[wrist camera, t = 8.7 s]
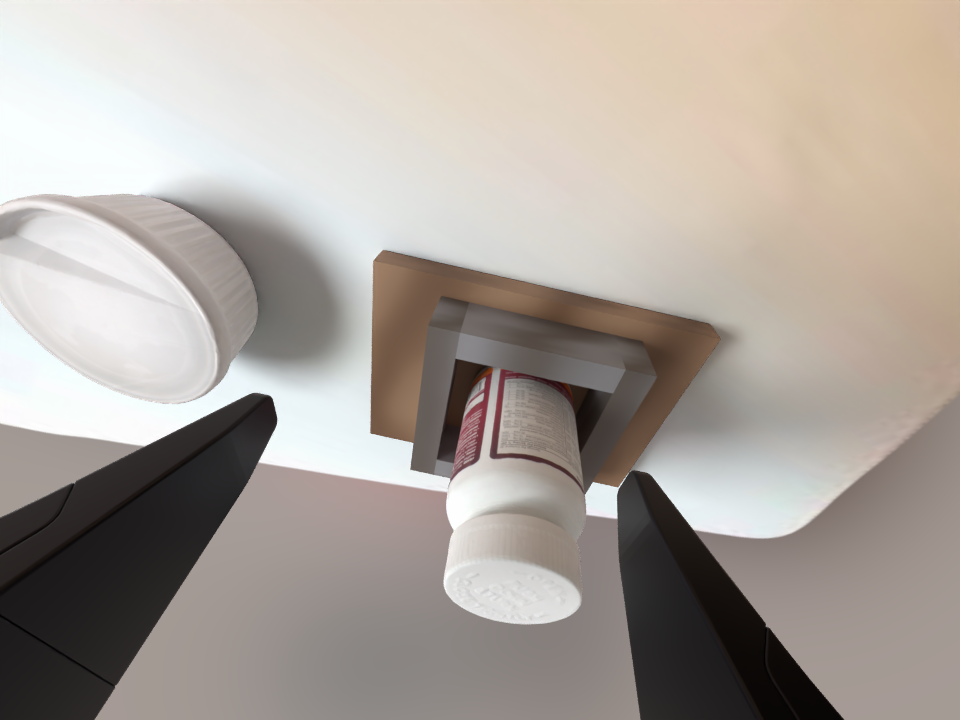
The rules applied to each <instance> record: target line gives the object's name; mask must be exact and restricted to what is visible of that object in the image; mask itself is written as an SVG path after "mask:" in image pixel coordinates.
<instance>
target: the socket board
mask: <svg viewBox="0 0 960 720" xmlns="http://www.w3.org/2000/svg"><path fill="white" fill-rule="evenodd" d="M719 341H720V337H719V336H718V335H717V333H716V332H715V331H714V329H713V328H712V326H711V325H710V324H707V323H703V322H698V321H694V320H690V319H685V318H681V317H676V316H672V315H667V314H663V313H659V312H654V311H650V310H645V309H641V308H637V307H632V306H628V305H623V304H619V303H614V302H610V301H606V300H601V299H597V298H592V297H588V296H584V295H579V294H575V293H570V292H566V291H561V290H557V289H553V288H548V287H544V286H539V285H535V284H531V283H526V282H522V281H517V280H513V279H508V278H504V277H500V276H495V275H491V274H486V273H482V272H478V271H473V270H469V269H464V268H460V267H455V266H451V265H447V264H442V263H438V262H433V261H429V260H425V259H420V258H416V257H411V256H407V255H402V254H398V253H394V252H389V251H385V250H383V251H382V252H381V253H380V254H379V255H378V256H377V257H376V258H375V260H374V261H373V315H372V374H371V434H376V435H380V436H385V437H389V438H394V439H398V440H403V441H408V442H412V443H414V444H413V452H412V461H411V469H410V470H415V471H419V472H424V473H429V474H433V475H438V476H442V477H447V478H451V474H452V470H453V464H454V460H455V455H456V450H457V445H458V441H459V436H460V431H461V426H462V422H463V417H464V413H465V408H466V403H467V398H468V394H469V391H470V387H471V384H472V382H473V380H474V379H475V377H476V376H477V374H478V373H479V372H480V371H481V370H482V369H483V368H485V367H486V366H491V367H496V368H500V369H505V370H509V371H514V372H518V373H523V374H527V375H532V376H536V377H541V378H545V379H550V380H554V381H559V382H563V383H568V384H569V386H570V389H571V392H572V397H573V403H574V411H575V419H576V428H577V437H578V445H579V453H580V461H581V468H582V476H583V486H584V494H586V492H587V490H588V489H589V487H590V486H591V484H592V482H596V483H600V484H605V485H610V486H614V487H619V485H620V484H621V482H622V481H623V479H624V478H625V477H626V475H627V474H628V472H629V471H630V469H631V468H632V466H633V465H634V464H635V462H636V461H637V459H638V458H639V456H640V455H641V453H642V452H643V451H644V449H645V448H646V446H647V445H648V443H649V442H650V440H651V439H652V438H653V436H654V435H655V433H656V432H657V430H658V429H659V428H660V426H661V425H662V423H663V422H664V420H665V419H666V417H667V416H668V415H669V413H670V412H671V410H672V409H673V407H674V406H675V404H676V403H677V402H678V400H679V399H680V397H681V396H682V394H683V393H684V391H685V390H686V389H687V387H688V386H689V384H690V383H691V381H692V380H693V378H694V377H695V376H696V374H697V373H698V371H699V370H700V368H701V367H702V365H703V364H704V363H705V361H706V360H707V358H708V357H709V355H710V354H711V352H712V351H713V350H714V348H715V347H716V345H717V344H718V342H719Z"/></svg>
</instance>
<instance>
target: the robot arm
mask: <svg viewBox="0 0 960 720" xmlns="http://www.w3.org/2000/svg"><path fill="white" fill-rule="evenodd" d="M276 425H277V415H276V411H275V407H274V402H273V399H272V397H271V396H269V395H265V394H260V393H252V394H249V395H247V396H245V397H243V398H241V399H239V400H237V401H235V402H233V403H231V404H229V405H227V406H225V407H223V408H221V409H219V410H217V411H215V412H213V413H211V414H209V415H207V416H205V417H203V418H201V419H199V420H197V421H195V422H193V423H191V424H189V425H187V426H185V427H183V428H181V429H179V430H177V431H175V432H173V433H171V434H169V435H167V436H165V437H163V438H161V439H159V440H157V441H155V442H153V443H151V444H149V445H147V446H145V447H143V448H141V449H139V450H137V451H135V452H133V453H131V454H129V455H127V456H125V457H123V458H121V459H119V460H117V461H115V462H113V463H111V464H109V465H107V466H105V467H103V468H101V469H99V470H97V471H95V472H93V473H91V474H89V475H87V476H85V477H83V478H81V479H79V480H77V481H76V482H75V484H74V483H71V484H69V485H66V486H65V487H62V488H60V489H58V490H57V491H55V492H53V493H50V494H49V495H47V496H44V497H42V498H40V499H38V500H36V501H34V502H32V503H30V504H28V505H26V506H24V507H22V508H20V509H17V510H15V511H13V512H11V513H9V514H7V515H5V516H2V517H0V720H94V719H95V718H96V717H97V715H98V713H99V712H100V710H101V709H102V707H103V706H104V704H105V703H106V701H107V700H108V698H109V697H110V695H111V693H112V692H113V690H114V689H115V685H117V684H118V682H119V681H120V679H121V677H122V676H123V674H124V673H125V671H126V670H127V668H128V667H129V665H130V664H131V662H132V661H133V659H134V657H135V656H136V654H137V653H138V651H139V650H140V648H141V647H142V645H143V644H144V642H145V640H146V639H147V637H148V636H149V634H150V633H151V631H152V629H153V628H154V627H155V625H156V623H157V622H158V620H159V619H160V617H161V616H162V614H163V613H164V611H165V610H166V608H167V606H168V605H169V603H170V602H171V600H172V599H173V597H174V596H175V594H176V593H177V591H178V589H179V588H180V586H181V585H182V583H183V582H184V580H185V579H186V577H187V576H188V574H189V572H190V571H191V569H192V568H193V566H194V565H195V563H196V562H197V560H198V559H199V557H200V556H201V554H202V552H203V551H204V549H205V548H206V546H207V545H208V543H209V541H210V540H211V539H212V537H213V535H214V534H215V532H216V531H217V529H218V528H219V526H220V524H221V523H222V521H223V520H224V518H225V517H226V515H227V514H228V512H229V511H230V509H231V508H232V506H233V505H234V503H235V501H236V500H237V498H238V497H239V495H240V494H241V492H242V491H243V489H244V487H245V486H246V484H247V483H248V480H249V479H250V477H251V475H252V473H253V471H254V469H255V467H256V465H257V463H258V461H259V459H260V458H261V456H262V454H263V452H264V450H265V448H266V446H267V444H268V442H269V440H270V438H271V436H272V434H273V432H274V430H275V428H276ZM617 511H618V549H619V563H620V572H621V579H622V586H623V594H624V601H625V608H626V616H627V623H628V631H629V638H630V645H631V653H632V659H633V667H634V675H635V682H636V688H637V697H638V704H639V711H640V719H641V720H844V719H843V718H842V717H841V715H840V714H839V713H838V712H837V711H836V710H835V708H834V707H833V706H832V705H831V704H830V703H829V701H828V700H827V699H826V698H825V697H824V695H823V694H822V693H821V692H820V691H819V689H818V688H817V687H816V686H815V685H814V684H813V682H812V681H811V680H810V679H809V678H808V676H807V675H806V674H805V673H804V671H803V670H802V669H801V668H800V666H799V665H798V664H797V663H796V661H795V660H794V659H793V658H792V656H791V655H790V654H789V653H788V651H787V650H786V649H785V648H784V646H783V645H782V644H781V642H780V641H779V640H778V638H777V637H776V636H775V635H774V633H773V632H772V631H771V629H770V628H769V627H766V624H765V622H764V621H763V619H762V618H761V617H760V615H759V614H758V613H757V612H756V610H755V609H754V608H753V606H752V605H751V604H750V603H749V601H748V600H747V599H746V597H745V596H744V595H743V593H742V592H741V591H740V590H739V588H738V587H737V586H736V585H735V583H734V582H733V581H732V579H731V578H730V577H729V576H728V574H727V573H726V572H725V570H724V569H723V568H722V566H721V565H720V564H719V562H718V561H717V560H716V559H715V557H714V556H713V555H712V553H711V552H710V551H709V550H708V548H707V547H706V546H705V544H704V543H703V542H702V541H701V539H700V538H699V537H698V535H697V534H696V533H695V531H694V530H693V529H692V528H691V526H690V525H689V524H688V522H687V521H686V520H685V519H684V517H683V516H682V515H681V513H680V512H679V511H678V509H677V508H676V507H675V506H674V504H673V503H672V502H671V500H670V499H669V498H668V497H667V495H666V494H665V493H664V491H663V490H662V489H661V488H660V486H659V485H658V484H657V482H656V481H655V480H654V478H653V477H652V476H651V475H650V474H648V473H645V472H640V471H635V470H633V471H631V472H630V473H629V474H628V476H627V477H626V479H625V480H624V482H623V484H622V485H621V487H620V488H619V491H618V494H617Z"/></svg>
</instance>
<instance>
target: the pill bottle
mask: <svg viewBox="0 0 960 720" xmlns="http://www.w3.org/2000/svg"><path fill="white" fill-rule="evenodd" d="M446 509H447V515H448V519H449V522H450V524H451V526H452V528H453V530H454V532H453V534H452V537H451V539H450V545H449V552H448V558H447V564H446V569H445V574H444V588H445V591H446V593H447V594H448V596H449V597H450V598H451V599H452V600H453V601H454V602H455V603H456V604H458V605H459V606H460V607H462V608H464V609H466V610H468V611H470V612H471V613H474V614H476V615H478V616H481V617H485V618H488V619H491V620H496V621H501V622H507V623H515V624H541V623H548V622H554V621H557V620H560V619H563V618H566V617H568V616H570V615H572V614H573V613H574V612H575V611H576V610H577V609H578V608H579V607H580V605H581V602H582V581H581V569H580V562H581V561H580V553H579V548H578V545H577V543H576V541H577V539H578V538H579V536H580V535H581V533H582V531H583V528H584V525H585V520H586V502H585V494H584V486H583V476H582V468H581V461H580V453H579V445H578V437H577V428H576V419H575V411H574V403H573V397H572V392H571V389H570V386H569V384H568V383H563V382H559V381H554V380H550V379H545V378H541V377H536V376H532V375H527V374H523V373H518V372H514V371H509V370H505V369H500V368H496V367H491V366H486V367H485V368H483V369H482V370H481V371H480V372H479V373H478V374H477V376H476V377H475V379H474V380H473V382H472V384H471V387H470V391H469V394H468V398H467V403H466V408H465V413H464V417H463V422H462V426H461V431H460V436H459V441H458V445H457V450H456V455H455V460H454V464H453V470H452V474H451V479H450V483H449V486H448V494H447V501H446Z"/></svg>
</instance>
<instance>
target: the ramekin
mask: <svg viewBox="0 0 960 720" xmlns="http://www.w3.org/2000/svg"><path fill="white" fill-rule="evenodd" d="M0 301H1V303H2V304H3V306H4V307H5V308H6V309H7V311H8V312H9V314H10V315H11V316H12V317H13V318H14V319H15V320H16V322H17V323H18V324H19V325H20V326H21V327H22V328H23V329H24V330H25V331H26V332H27V333H28V334H29V335H30V336H31V337H32V338H33V339H34V340H35V341H37V342H38V343H39V344H40V345H41V346H42V347H43V348H44V349H46V350H47V351H48V352H50V353H51V354H52V355H53V356H55V357H56V358H57V359H59V360H60V361H61V362H63V363H64V364H66V365H67V366H69V367H70V368H72V369H73V370H75V371H77V372H78V373H80V374H81V375H83V376H85V377H87V378H88V379H90V380H92V381H94V382H96V383H98V384H100V385H102V386H104V387H107V388H109V389H111V390H114V391H116V392H119V393H122V394H124V395H127V396H131V397H134V398H138V399H142V400H146V401H151V402H157V403H163V404H169V403H171V404H180V403H185V402H189V401H192V400H195V399H197V398H200V397H202V396H204V395H206V394H207V393H208V392H210V391H211V390H212V389H213V388H214V387H215V386H216V385H218V384H219V383H220V382H221V380H222V379H223V378H224V376H225V375H226V373H227V371H228V369H229V366H230V363H231V362H232V360H233V359H234V358H235V357H236V355H237V354H238V353H239V351H240V350H241V349H242V347H243V346H244V345H245V343H246V342H247V341H248V339H249V338H250V336H251V335H252V333H253V331H254V328H255V326H256V324H257V317H258V302H257V296H256V291H255V287H254V284H253V281H252V279H251V277H250V275H249V272H248V271H247V269H246V267H245V265H244V263H243V262H242V260H241V259H240V257H239V256H238V255H237V253H236V252H235V251H234V250H233V248H232V247H231V246H230V245H229V244H228V243H227V242H226V241H225V240H224V239H223V237H222V236H220V235H219V234H218V233H217V232H216V231H215V230H214V229H212V228H211V227H210V226H208V225H207V224H206V223H204V222H203V221H201V220H200V219H198V218H197V217H195V216H194V215H192V214H190V213H189V212H187V211H185V210H183V209H181V208H179V207H177V206H175V205H173V204H171V203H167V202H165V201H162V200H159V199H156V198H151V197H148V196H143V195H132V194H116V195H99V196H84V197H72V196H65V195H56V194H43V195H34V196H28V197H23V198H18V199H14V200H11V201H8V202H6V203H4V204H2V205H0Z"/></svg>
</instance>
